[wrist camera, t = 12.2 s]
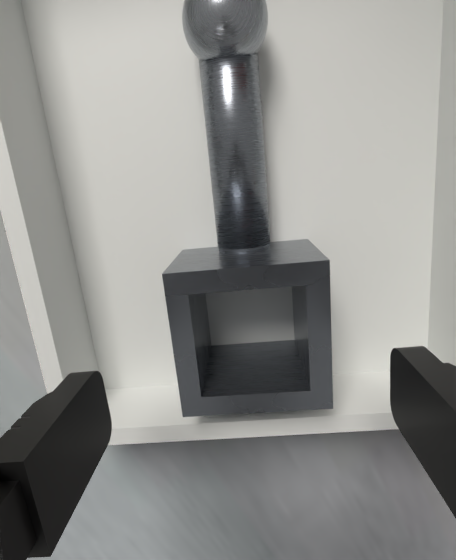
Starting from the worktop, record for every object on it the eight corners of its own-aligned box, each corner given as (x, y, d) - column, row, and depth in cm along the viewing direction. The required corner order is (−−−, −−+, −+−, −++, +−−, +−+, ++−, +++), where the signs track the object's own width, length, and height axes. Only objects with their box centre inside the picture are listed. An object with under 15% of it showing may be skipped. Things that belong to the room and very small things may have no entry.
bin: (434, 373, 19) (484, 424, 15) (96, 395, 20) (61, 447, 16) (463, -173, 13) (554, -320, 9) (-11, -98, 14) (-105, -201, 10)
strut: (296, -37, 14) (320, -133, 9) (312, 353, 18) (333, 408, 14) (148, -17, 14) (107, -101, 10) (197, 361, 18) (182, 417, 14)
